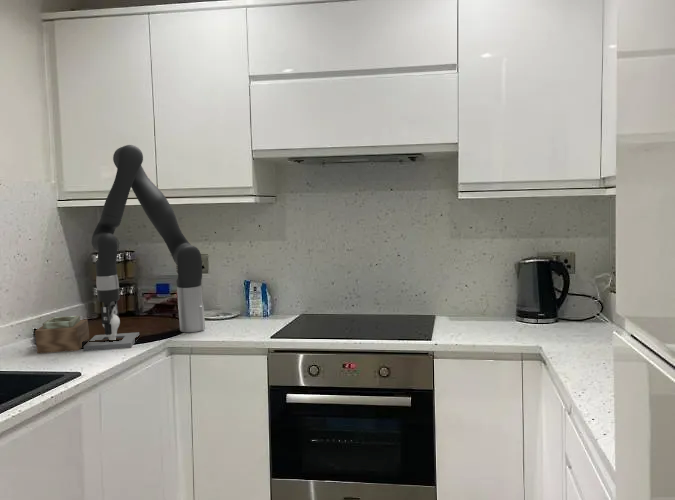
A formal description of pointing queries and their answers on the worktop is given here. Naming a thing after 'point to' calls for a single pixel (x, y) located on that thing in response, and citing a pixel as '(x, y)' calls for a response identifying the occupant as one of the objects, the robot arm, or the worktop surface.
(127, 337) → the frame
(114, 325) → the lightbulb
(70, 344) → the raised socket
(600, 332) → the worktop surface
